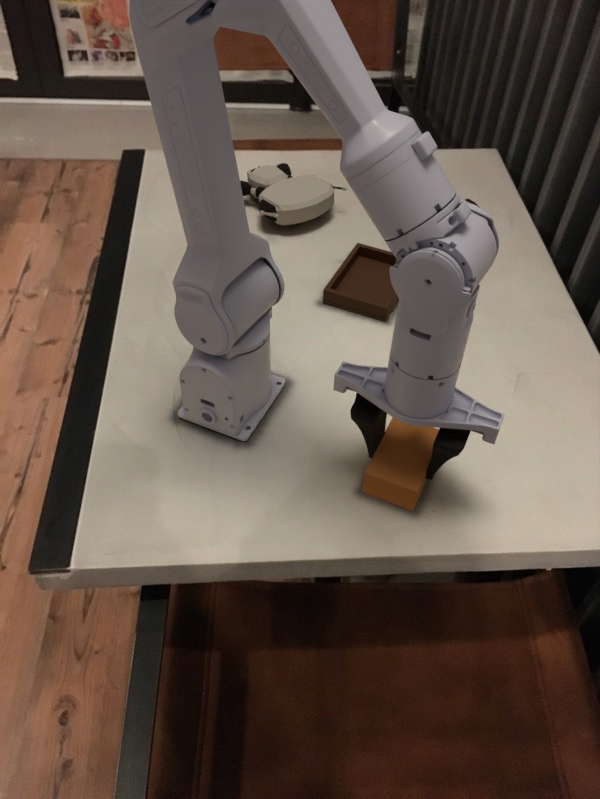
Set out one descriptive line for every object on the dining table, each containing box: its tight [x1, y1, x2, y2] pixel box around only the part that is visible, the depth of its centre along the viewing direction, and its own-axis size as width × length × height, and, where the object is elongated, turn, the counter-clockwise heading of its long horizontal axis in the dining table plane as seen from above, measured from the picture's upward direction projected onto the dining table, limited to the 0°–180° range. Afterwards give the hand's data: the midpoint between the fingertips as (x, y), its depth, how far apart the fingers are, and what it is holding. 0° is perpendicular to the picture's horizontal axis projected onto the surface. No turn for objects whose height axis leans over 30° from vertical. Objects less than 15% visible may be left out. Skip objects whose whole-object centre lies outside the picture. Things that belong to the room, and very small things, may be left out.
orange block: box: [361, 416, 440, 512], centre depth 65 cm, size 8×5×3 cm, turn 155°
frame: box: [322, 242, 399, 323], centre depth 85 cm, size 11×8×2 cm
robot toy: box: [240, 162, 348, 226], centre depth 97 cm, size 12×4×15 cm
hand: (403, 461), depth 65 cm, fingers closed on orange block, 5 cm apart
